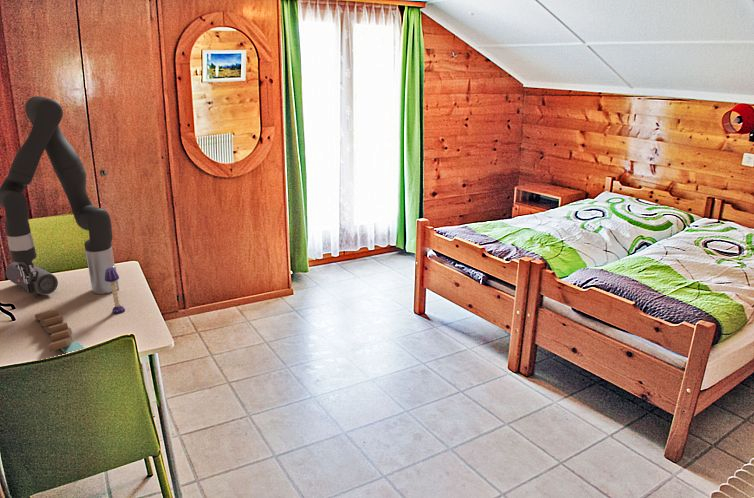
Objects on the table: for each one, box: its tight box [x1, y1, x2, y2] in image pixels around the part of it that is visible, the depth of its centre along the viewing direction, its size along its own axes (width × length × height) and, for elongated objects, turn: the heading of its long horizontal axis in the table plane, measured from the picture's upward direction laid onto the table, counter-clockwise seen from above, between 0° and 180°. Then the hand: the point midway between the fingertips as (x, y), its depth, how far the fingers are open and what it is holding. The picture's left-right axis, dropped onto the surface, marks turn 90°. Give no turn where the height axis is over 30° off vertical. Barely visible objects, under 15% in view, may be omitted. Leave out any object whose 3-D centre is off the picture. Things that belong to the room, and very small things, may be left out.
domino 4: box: [50, 327, 73, 342], centre depth 187 cm, size 2×5×10 cm
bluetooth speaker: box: [5, 261, 59, 296], centre depth 225 cm, size 23×9×10 cm, turn 56°
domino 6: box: [61, 340, 85, 354], centre depth 182 cm, size 2×5×10 cm
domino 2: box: [39, 315, 64, 327], centre depth 197 cm, size 2×5×10 cm
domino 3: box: [43, 321, 69, 335], centre depth 193 cm, size 2×5×10 cm
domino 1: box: [34, 309, 60, 321], centre depth 201 cm, size 2×5×10 cm
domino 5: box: [48, 335, 74, 352], centre depth 182 cm, size 2×5×10 cm
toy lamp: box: [105, 267, 126, 315], centre depth 207 cm, size 5×5×17 cm
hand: (31, 292), depth 206 cm, fingers closed
